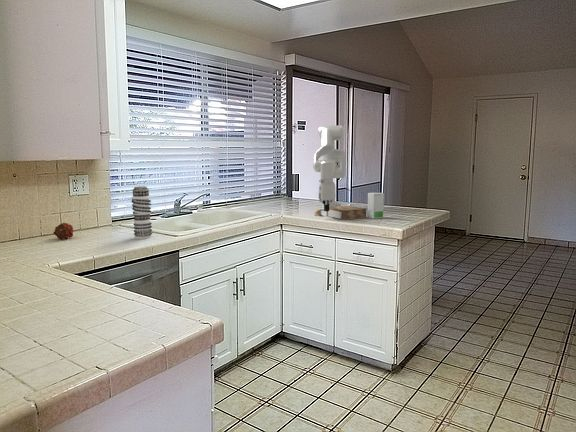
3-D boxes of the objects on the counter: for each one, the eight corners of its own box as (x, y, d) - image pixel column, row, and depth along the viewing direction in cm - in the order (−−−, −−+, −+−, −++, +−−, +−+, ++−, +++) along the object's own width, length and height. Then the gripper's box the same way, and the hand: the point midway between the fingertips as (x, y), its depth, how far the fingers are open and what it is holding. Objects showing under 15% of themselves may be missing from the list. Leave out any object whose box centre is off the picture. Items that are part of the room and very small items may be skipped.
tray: (346, 214, 298) (346, 208, 297) (359, 216, 287) (359, 210, 286) (328, 216, 290) (328, 209, 290) (340, 218, 279) (340, 212, 279)
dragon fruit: (64, 244, 219) (62, 243, 229) (79, 232, 223) (76, 232, 233) (51, 230, 216) (49, 231, 226) (66, 219, 220) (63, 219, 230)
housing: (346, 213, 302) (346, 205, 301) (366, 217, 285) (366, 208, 284) (326, 215, 294) (326, 207, 293) (345, 219, 277) (345, 210, 276)
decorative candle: (129, 238, 223) (126, 187, 219) (139, 235, 232) (136, 186, 228) (147, 239, 221) (144, 187, 218) (156, 235, 230) (153, 186, 227)
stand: (318, 214, 298) (318, 209, 298) (322, 215, 295) (322, 210, 294) (313, 215, 296) (313, 210, 296) (317, 216, 292) (317, 210, 292)
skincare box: (373, 219, 279) (373, 193, 276) (366, 217, 284) (366, 192, 282) (384, 217, 282) (384, 192, 280) (377, 216, 288) (377, 192, 286)
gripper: (320, 182, 272) (320, 213, 275) (340, 181, 279) (340, 210, 283) (313, 181, 278) (313, 211, 282) (333, 180, 286) (332, 209, 289)
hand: (326, 211), depth 282 cm, fingers closed
